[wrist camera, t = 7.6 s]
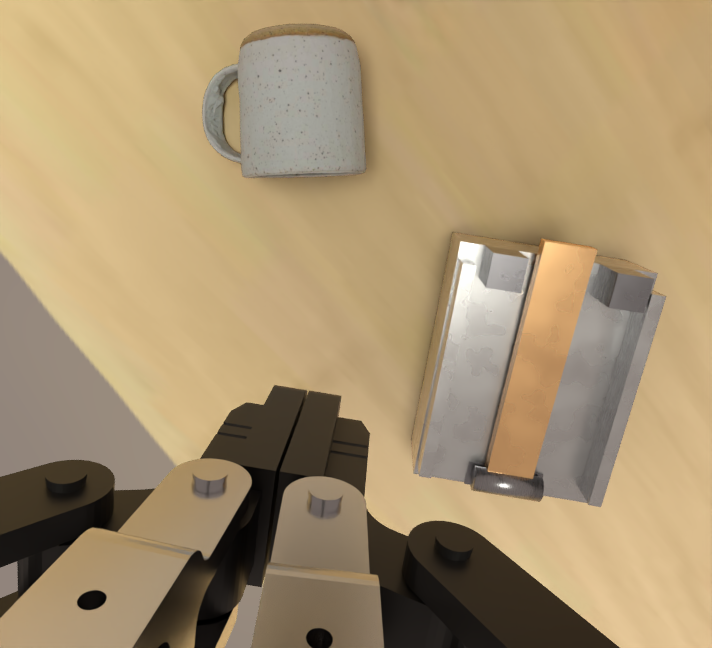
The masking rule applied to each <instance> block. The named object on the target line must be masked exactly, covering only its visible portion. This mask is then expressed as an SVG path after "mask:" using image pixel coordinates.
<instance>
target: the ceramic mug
mask: <svg viewBox="0 0 712 648" xmlns="http://www.w3.org/2000/svg"><path fill="white" fill-rule="evenodd" d="M237 78H238V88H239V98H240V137H241V154H239V153H237V152H235V151H234V150H233V149H232V148H231V147H230V146H229V145H228V144H227V142H226V140H225V136H224V134H223V127H222V114H223V104H224V97H223V94H224V92H225V90H226V89H227V87H228V86H229V85H230V84H231V82H232V81H234V80H235V79H237ZM202 116H203V126H204V131H205V134H206V137H207V139H208V141H209V143H210V144H211V145H212V146H213V148H214V149H215V150H216V151H217V152H218V153H220V154H221V155H222V156H223V157H225V158H227V159H230V160H232V161H234V162H238V163H241V168H242V175H243V176H244V177H245V178H292V177H321V176H325V177H327V176H342V175H356V174H362V173H364V172H365V170H366V157H365V139H364V120H363V107H362V87H361V67H360V61H359V57H358V52H357V47H356V44H355V42H354V40H353V39H352V38H351V36H350V35H348V34H347V33H345V32H344V31H343V30H340V29H337V28H335V27H330V26H324V25H316V24H286V25H278V26H272V27H267V28H262V29H260V30H257V31H254V32H252V33H251V34H250V35H248V36H247V37H246V38H245V39H244V40H243V42H242V44H241V47H240V54H239V62H238V64H233V65H231V66H228V67H225V68H224V69H222V70H221V71H219V72H218V73H217V74H216V75H215V76H214V77H213V78H212V80H211V81H210V83H209V85H208V87H207V89H206V92H205V95H204V100H203V108H202Z"/></svg>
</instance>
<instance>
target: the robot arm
mask: <svg viewBox="0 0 712 648" xmlns="http://www.w3.org/2000/svg"><path fill="white" fill-rule="evenodd" d="M340 402H341V396H339V395H332V394H326V393H320V392H314V391H309V393H308V395H307V390H301V389H295V388H289V387H283V386H277V385H275V386H274V387H273V389H272V391H271V393H270V394H269V396H268V398H267V400H266V402H265V404H264V405H259V404H253V403H245V404H243V405H241V406H239V407H237V408H236V409H234V410H232V411H231V412H230V413H229V415H228V417H227V418H226V420H225V421H224V424H223V425H222V426H221V427H220V429H219V430H218V433H217V434H216V435H215V437H214V438H213V440H212V441H211V443H210V444H209V446H208V447H207V449H206V451H205V452H204V454H203V455H202V457H201V458H200V459H197V460H192V461H188V462H185V463H183V464H180V465H178V466H177V467H175V468H174V469H173V470H172V471H171V472H170V473H169V474H168V475H167V476H166V477H165V478H164V479H163V481H162V482H161V483H160V484H159V485H158V486H157V487H156V488H155V489H145V490H118V491H117V490H116V491H114V485H115V479H114V475H113V473H112V472H111V471H110V469H108V468H107V467H105V466H103V465H101V464H98V463H95V462H91V461H84V460H66V461H58V462H53V463H49V464H45V465H41V466H38V467H34V468H31V469H27V470H24V471H20V472H16V473H13V474H10V475H6V476H2V477H0V567H3V566H5V565H8V564H11V563H13V562H16V561H17V564H18V591H17V592H15V593H12V594H10V595H7V596H5V597H2V598H0V648H224V647H225V645H226V642H227V640H228V638H229V636H230V634H231V631H232V629H233V627H234V624H235V622H236V619H237V610H238V603H239V602H240V600H241V598H242V596H243V593H244V590H245V587H246V585H252V586H258V587H262V584H263V580H264V584H263V589H262V594H261V600H260V605H259V610H258V616H257V620H256V625H255V630H254V636H253V640H252V646H251V648H619V647H618V646H617V645H616V644H614V643H613V642H612V641H611V640H610V639H608V638H607V637H606V636H605V635H603V634H602V633H601V632H600V631H598V630H597V629H596V628H595V627H594V626H592V625H591V624H590V623H589V622H587V621H586V620H585V619H584V618H582V617H581V616H580V615H579V614H578V613H576V612H575V611H574V610H573V609H571V608H570V607H569V606H568V605H566V604H565V603H564V602H563V601H562V600H560V599H559V598H558V597H557V596H555V595H554V594H553V593H552V592H551V591H549V590H548V589H547V588H546V587H544V586H543V585H542V584H541V583H539V582H538V581H537V580H536V579H535V578H533V577H532V576H531V575H530V574H528V573H527V572H526V571H525V570H523V569H522V568H521V567H520V566H519V565H517V564H516V563H515V562H514V561H512V560H511V559H510V558H509V557H507V556H506V555H505V554H504V553H503V552H501V551H500V550H499V549H498V548H496V547H495V546H494V545H493V544H491V543H490V542H489V541H488V540H487V539H485V538H484V537H483V536H481V535H480V534H479V533H477V532H475V531H473V530H472V529H470V528H467V527H465V526H462V525H459V524H456V523H452V522H446V521H429V522H425V523H422V524H419V525H417V526H416V527H415V528H413V529H412V531H411V532H410V534H409V536H406V535H403V534H401V533H398V532H396V531H393V530H391V529H389V528H387V527H385V526H384V525H382V524H381V523H379V522H378V521H377V520H376V519H374V518H373V517H372V516H371V514H370V513H369V512H368V510H367V508H366V501H365V498H364V494H365V482H366V471H367V458H368V447H369V436H370V433H369V432H368V430H367V429H366V427H365V426H364V424H363V423H362V422H361V421H358V420H352V419H346V418H340V417H338V416H339V409H340ZM264 577H265V579H264Z"/></svg>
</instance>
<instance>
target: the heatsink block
mask: <svg viewBox="0 0 712 648" xmlns="http://www.w3.org/2000/svg"><path fill="white" fill-rule="evenodd" d="M538 249H539V246H536V245H530V244H524V243H517V242H511V241H505V240H499V239H493V238H487V237H480V236H474V235H468V234H462V233H456V232H453V233H452V238H451V243H450V248H449V253H448V258H447V263H446V268H445V273H444V278H443V283H442V288H441V293H440V298H439V303H438V308H437V313H436V318H435V323H434V328H433V333H432V338H431V343H430V348H429V353H428V358H427V363H426V368H425V373H424V378H423V383H422V388H421V393H420V398H419V403H418V408H417V413H416V418H415V423H414V428H413V433H412V438H411V444H412V459H413V473H414V474H419V476H421V477H427V478H431V477H437V478H443V479H449V480H455V481H461V482H464V483H465V484H470V485H471V474H472V470H473V467H474V466H480V467H484V465H485V461H486V457H487V453H488V449H489V445H490V441H491V437H492V433H493V429H494V425H495V421H496V417H497V413H498V409H499V405H500V401H501V397H502V393H503V389H504V385H505V381H506V377H507V373H508V369H509V365H510V361H511V357H512V353H513V349H514V345H515V341H516V337H517V333H518V329H519V325H520V321H521V317H522V313H523V309H524V305H525V301H526V297H527V293H528V289H529V285H530V281H531V277H532V273H533V269H534V265H535V261H536V257H537V253H538ZM657 274H658V273H655V272H653V271H651V270H648V269H646V268H644V267H641V266H639V265H636V264H634V263H632V262H629V261H627V260H622V259H616V258H610V257H604V256H598V255H596V256H595V260H594V264H593V267H592V271H591V274H590V278H589V281H588V285H587V288H586V292H585V295H584V299H583V303H582V306H581V310H580V313H579V317H578V320H577V324H576V327H575V331H574V334H573V338H572V342H571V345H570V349H569V352H568V356H567V359H566V363H565V366H564V370H563V373H562V377H561V381H560V384H559V388H558V391H557V395H556V398H555V402H554V405H553V409H552V412H551V416H550V419H549V423H548V427H547V430H546V434H545V437H544V441H543V444H542V448H541V451H540V455H539V458H538V462H537V466H536V469H535V473H534V476H539V477H542V478H543V481H544V492H543V496H549V497H555V498H561V499H567V500H573V501H579V502H585V503H588V505H592V506H598V507H601V505H602V502H603V499H604V495H605V492H606V489H607V486H608V483H609V479H610V476H611V473H612V470H613V466H614V463H615V460H616V457H617V454H618V450H619V447H620V444H621V441H622V437H623V434H624V431H625V428H626V424H627V421H628V418H629V415H630V412H631V408H632V405H633V402H634V399H635V395H636V392H637V389H638V386H639V383H640V379H641V376H642V373H643V370H644V366H645V363H646V360H647V357H648V354H649V350H650V347H651V344H652V341H653V337H654V334H655V331H656V328H657V325H658V321H659V318H660V315H661V312H662V308H663V305H664V302H665V299H666V296H664V295H662V294H660V293H658V292H656V291H654V290H653V288H654V284H655V281H656V278H657Z"/></svg>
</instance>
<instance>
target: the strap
mask: <svg viewBox="0 0 712 648" xmlns="http://www.w3.org/2000/svg"><path fill="white" fill-rule="evenodd" d="M596 253H597V249H595V248H593V247H590V246H583V245H577V244H571V243H565V242H559V241H552V240H546V239H541V241H540V245H539V249H538V253H537V257H536V261H535V265H534V269H533V273H532V277H531V281H530V285H529V289H528V293H527V297H526V301H525V305H524V309H523V313H522V317H521V321H520V325H519V329H518V333H517V337H516V341H515V345H514V349H513V353H512V357H511V361H510V365H509V369H508V373H507V377H506V381H505V385H504V389H503V393H502V397H501V401H500V405H499V409H498V413H497V417H496V421H495V425H494V429H493V433H492V437H491V441H490V445H489V449H488V453H487V457H486V461H485V465H484V467H480V466H474V467H473V470H472V474H471V490H473V491H479V492H485V493H491V494H496V495H502V496H508V497H514V498H520V499H526V500H532V501H538V502H540V501H541V499H542V497H543V492H544V481H543V478H542V477H539V476H534V473H535V469H536V466H537V462H538V458H539V455H540V451H541V448H542V444H543V441H544V437H545V434H546V430H547V427H548V423H549V419H550V416H551V412H552V409H553V405H554V402H555V398H556V395H557V391H558V388H559V384H560V381H561V377H562V373H563V370H564V366H565V363H566V359H567V356H568V352H569V349H570V345H571V342H572V338H573V334H574V331H575V327H576V324H577V320H578V317H579V313H580V310H581V306H582V303H583V299H584V295H585V292H586V288H587V285H588V281H589V278H590V274H591V271H592V267H593V264H594V260H595V256H596Z"/></svg>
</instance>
